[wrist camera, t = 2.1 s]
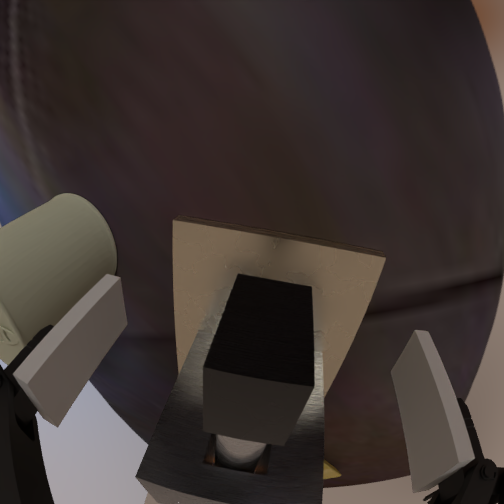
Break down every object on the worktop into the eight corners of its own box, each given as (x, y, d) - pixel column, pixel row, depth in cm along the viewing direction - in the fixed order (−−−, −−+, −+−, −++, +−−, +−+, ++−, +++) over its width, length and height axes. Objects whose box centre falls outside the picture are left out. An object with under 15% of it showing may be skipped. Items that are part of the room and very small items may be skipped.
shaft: (237, 273, 12) (202, 366, 7) (312, 286, 11) (314, 386, 7) (216, 478, 24) (207, 514, 19) (243, 483, 24) (235, 520, 19)
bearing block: (178, 215, 19) (33, 363, 7) (382, 251, 18) (462, 441, 6) (186, 416, 31) (152, 510, 18) (297, 437, 30) (286, 536, 17)
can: (126, 296, 23) (48, 397, 13) (56, 280, 24) (-19, 352, 14) (109, 192, 19) (-18, 270, 8) (36, 193, 20) (-65, 250, 10)
